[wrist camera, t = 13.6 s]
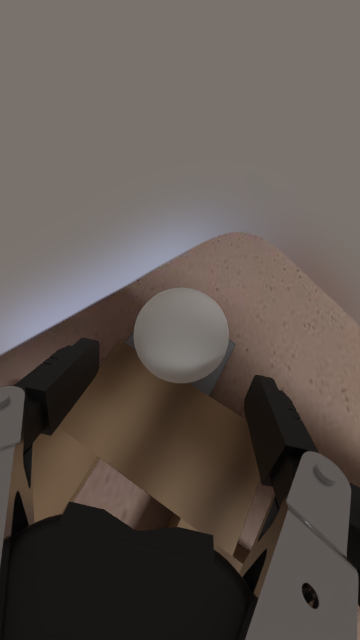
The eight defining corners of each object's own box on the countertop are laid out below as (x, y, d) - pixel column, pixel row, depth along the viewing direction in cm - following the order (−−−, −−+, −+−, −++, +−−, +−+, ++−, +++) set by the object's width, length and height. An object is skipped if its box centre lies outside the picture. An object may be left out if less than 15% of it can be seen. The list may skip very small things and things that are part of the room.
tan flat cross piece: (303, 458, 18) (322, 467, 16) (158, 935, 10) (155, 1092, 8) (93, 326, 22) (85, 317, 19) (-139, 609, 14) (-203, 653, 11)
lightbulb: (188, 399, 19) (215, 404, 9) (133, 368, 20) (100, 340, 9) (214, 344, 21) (260, 297, 11) (164, 318, 22) (163, 251, 12)
